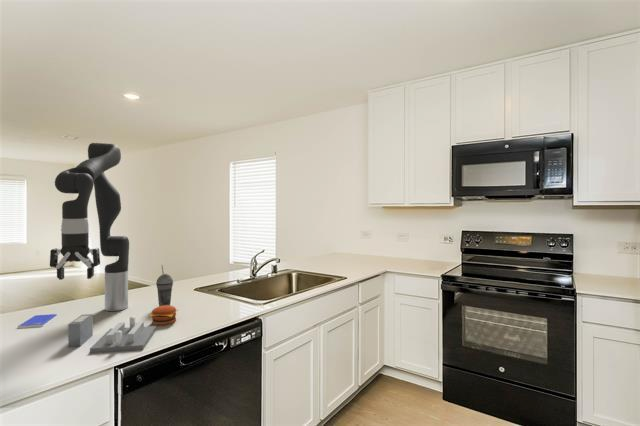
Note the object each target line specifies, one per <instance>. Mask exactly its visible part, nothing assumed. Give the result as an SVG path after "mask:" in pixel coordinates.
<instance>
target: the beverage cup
mask: <svg viewBox="0 0 640 426" xmlns="http://www.w3.org/2000/svg"><path fill="white" fill-rule="evenodd" d="M161 272H162V274H160V276H159V277H157V279H156V283H155V285H156V288H157V299H158V301H157V302H158V307H159V306H163V305H169V306H171V299H172V292H173V291H172V290H173V286H174V280H173V277H172V276H171V275H170V274H168V273H164V265H162V264H161Z"/></svg>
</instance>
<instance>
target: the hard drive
mask: <svg viewBox="0 0 640 426" xmlns="http://www.w3.org/2000/svg"><path fill="white" fill-rule="evenodd" d="M57 317H58V314H57V313H53V314H52V313H50V314H37V315H34V316H32V317H30V318H29V319H27V320H25V321H24V322H22V323H20V324H19V325H17V329H26V328H27V329H28V328H40V327H44V326H46V325H48V324H49V323H51V321H53V320H55V318H57Z"/></svg>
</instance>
